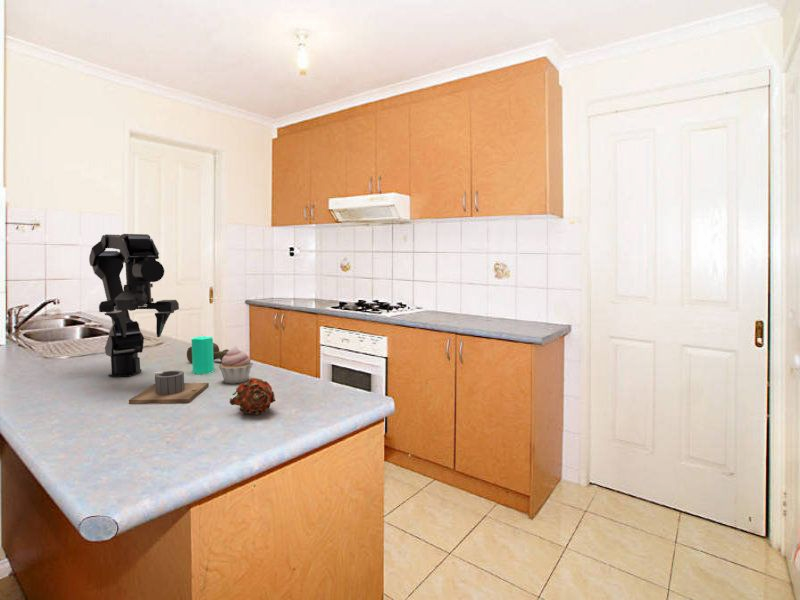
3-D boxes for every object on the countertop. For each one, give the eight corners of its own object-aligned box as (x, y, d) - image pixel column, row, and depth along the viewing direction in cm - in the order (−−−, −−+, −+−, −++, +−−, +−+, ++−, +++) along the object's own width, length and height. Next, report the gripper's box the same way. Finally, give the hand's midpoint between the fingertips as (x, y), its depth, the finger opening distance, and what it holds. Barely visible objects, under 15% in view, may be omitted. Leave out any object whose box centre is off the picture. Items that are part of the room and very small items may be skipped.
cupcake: (260, 380, 131) (259, 346, 130) (230, 387, 124) (229, 351, 123) (242, 374, 137) (241, 341, 136) (212, 381, 130) (211, 346, 129)
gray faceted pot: (178, 394, 115) (177, 375, 114) (149, 395, 114) (148, 375, 114) (188, 387, 121) (187, 368, 121) (161, 387, 121) (160, 369, 120)
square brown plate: (128, 403, 111) (128, 387, 110) (155, 387, 125) (155, 372, 124) (188, 403, 112) (188, 386, 111) (208, 386, 125) (208, 371, 125)
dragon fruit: (266, 427, 101) (240, 421, 109) (291, 397, 106) (263, 393, 114) (242, 401, 97) (216, 397, 105) (268, 371, 102) (242, 369, 110)
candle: (206, 374, 137) (204, 335, 136) (188, 373, 139) (186, 334, 137) (218, 369, 143) (216, 331, 142) (200, 368, 144) (199, 330, 143)
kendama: (226, 369, 146) (177, 362, 153) (246, 363, 155) (199, 356, 162) (226, 351, 145) (177, 344, 152) (246, 346, 154) (199, 340, 161)
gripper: (84, 282, 117) (88, 343, 118) (160, 282, 118) (163, 342, 119) (109, 279, 128) (112, 335, 129) (178, 279, 129) (180, 334, 131)
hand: (141, 337), depth 127 cm, fingers open, 9 cm apart
